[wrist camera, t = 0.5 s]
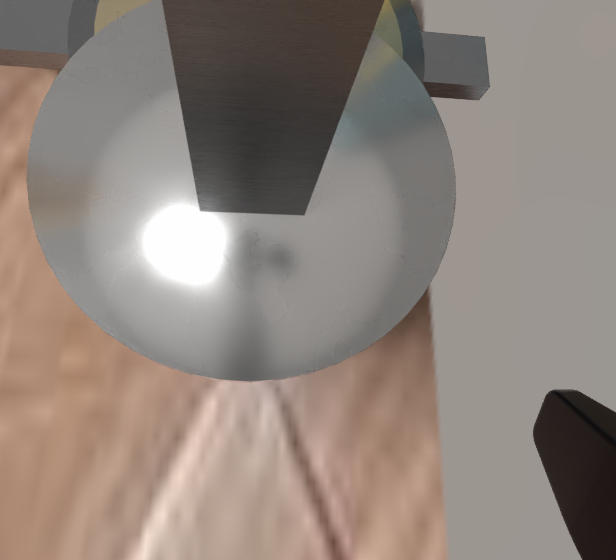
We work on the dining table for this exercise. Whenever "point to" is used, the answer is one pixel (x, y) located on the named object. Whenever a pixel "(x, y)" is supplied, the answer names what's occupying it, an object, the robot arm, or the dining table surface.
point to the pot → (114, 3)
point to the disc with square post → (242, 184)
